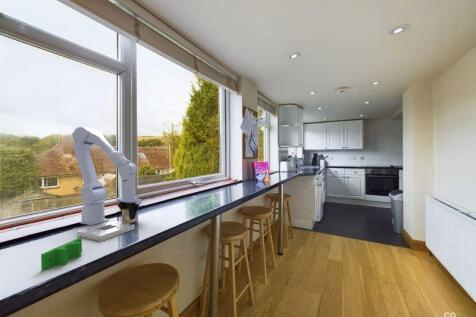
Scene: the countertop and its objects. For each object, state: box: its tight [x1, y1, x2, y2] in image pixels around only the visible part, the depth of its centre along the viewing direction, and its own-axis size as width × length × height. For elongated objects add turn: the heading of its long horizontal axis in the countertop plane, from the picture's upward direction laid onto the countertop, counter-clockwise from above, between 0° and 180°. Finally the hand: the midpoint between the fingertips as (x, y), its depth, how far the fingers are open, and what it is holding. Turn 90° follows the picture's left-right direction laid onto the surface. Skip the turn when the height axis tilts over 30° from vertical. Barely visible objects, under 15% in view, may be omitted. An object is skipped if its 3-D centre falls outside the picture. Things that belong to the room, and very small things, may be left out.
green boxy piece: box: [40, 237, 83, 271], centre depth 60 cm, size 11×4×5 cm, turn 173°
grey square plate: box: [76, 220, 135, 243], centre depth 82 cm, size 14×14×2 cm
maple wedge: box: [121, 208, 137, 224], centre depth 96 cm, size 4×4×6 cm
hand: (129, 218), depth 96 cm, fingers closed on maple wedge, 4 cm apart
